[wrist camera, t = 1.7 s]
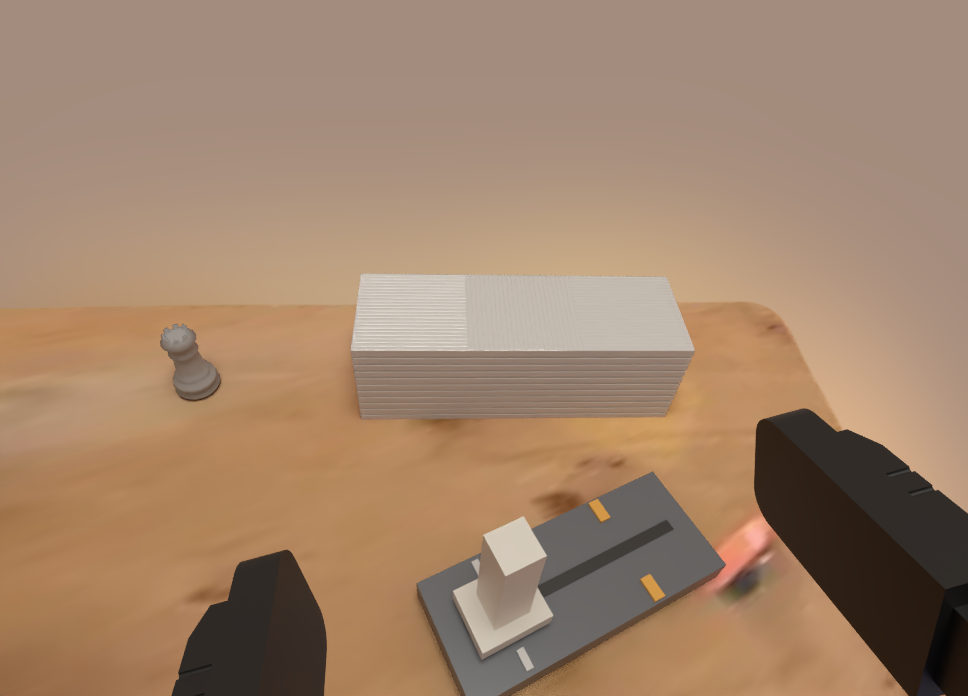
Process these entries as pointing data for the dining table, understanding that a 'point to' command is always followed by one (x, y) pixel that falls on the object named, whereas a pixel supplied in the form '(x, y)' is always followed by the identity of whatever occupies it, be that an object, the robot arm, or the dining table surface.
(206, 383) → the rook chess piece
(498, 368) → the stack of papers
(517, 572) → the fader tab
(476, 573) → the fader console
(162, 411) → the dining table surface
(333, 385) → the dining table surface
